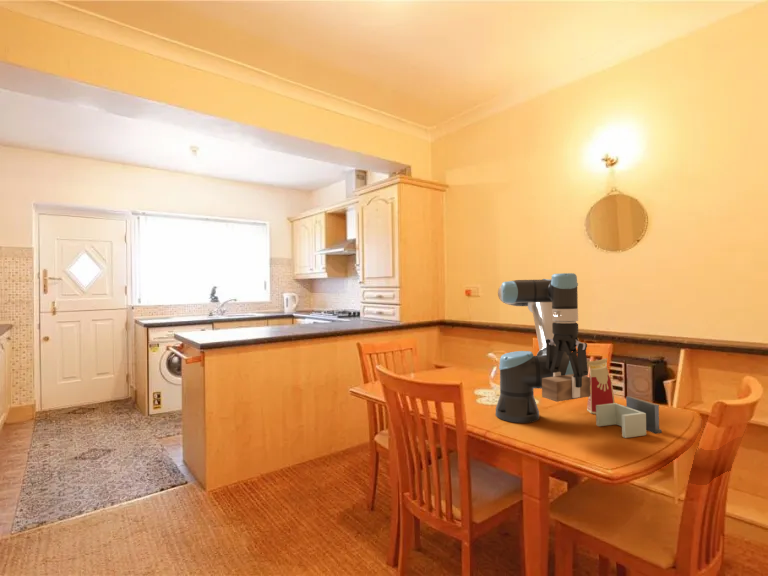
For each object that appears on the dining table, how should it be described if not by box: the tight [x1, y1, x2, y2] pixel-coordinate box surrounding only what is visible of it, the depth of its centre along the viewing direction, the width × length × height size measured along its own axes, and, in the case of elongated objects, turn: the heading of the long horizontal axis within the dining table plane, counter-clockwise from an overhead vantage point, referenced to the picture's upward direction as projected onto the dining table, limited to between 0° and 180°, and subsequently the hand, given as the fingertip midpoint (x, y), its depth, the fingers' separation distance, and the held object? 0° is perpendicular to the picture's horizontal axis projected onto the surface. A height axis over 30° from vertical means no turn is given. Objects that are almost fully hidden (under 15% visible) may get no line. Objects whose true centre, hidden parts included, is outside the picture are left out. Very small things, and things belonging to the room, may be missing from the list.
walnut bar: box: [541, 374, 590, 403], centre depth 128 cm, size 14×6×6 cm, turn 113°
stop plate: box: [625, 395, 663, 435], centre depth 134 cm, size 2×11×9 cm, turn 14°
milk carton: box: [586, 358, 615, 415], centre depth 152 cm, size 9×9×20 cm
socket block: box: [595, 402, 647, 439], centre depth 132 cm, size 8×12×7 cm
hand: (566, 394), depth 128 cm, fingers closed on walnut bar, 6 cm apart
